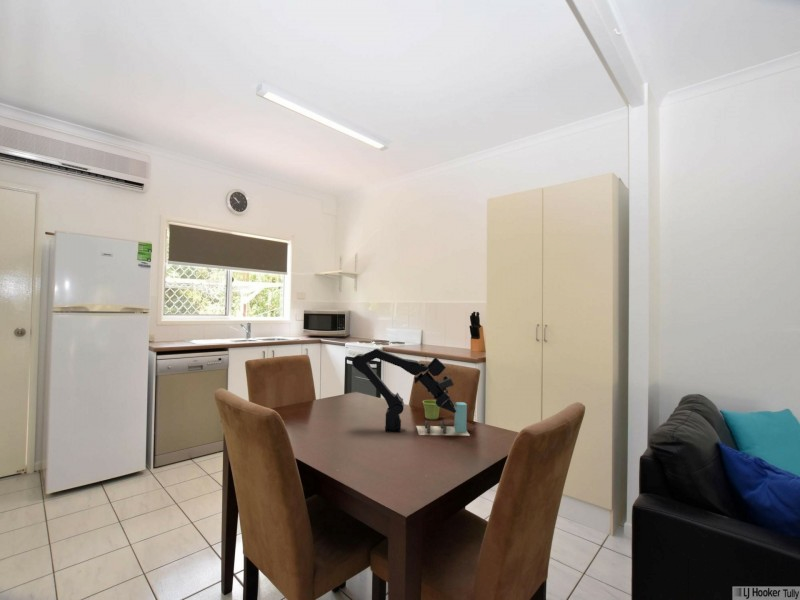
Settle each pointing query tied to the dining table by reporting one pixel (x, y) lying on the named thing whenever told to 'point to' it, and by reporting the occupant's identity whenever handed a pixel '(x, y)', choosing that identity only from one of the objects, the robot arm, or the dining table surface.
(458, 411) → the teal post
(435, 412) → the plant pot
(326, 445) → the dining table surface
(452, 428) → the peg board
